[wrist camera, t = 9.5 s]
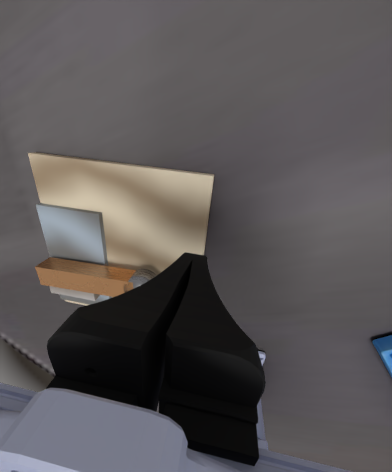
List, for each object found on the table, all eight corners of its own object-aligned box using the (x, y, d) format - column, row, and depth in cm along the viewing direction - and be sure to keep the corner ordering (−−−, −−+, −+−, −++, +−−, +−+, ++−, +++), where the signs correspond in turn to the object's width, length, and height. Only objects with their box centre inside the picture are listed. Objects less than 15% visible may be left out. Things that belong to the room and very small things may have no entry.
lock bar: (159, 270, 22) (152, 282, 20) (159, 293, 23) (153, 306, 21) (49, 254, 23) (33, 263, 21) (55, 276, 24) (42, 287, 23)
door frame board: (195, 320, 27) (190, 344, 24) (70, 296, 29) (51, 315, 25) (214, 174, 18) (211, 181, 15) (36, 152, 20) (1, 154, 17)
